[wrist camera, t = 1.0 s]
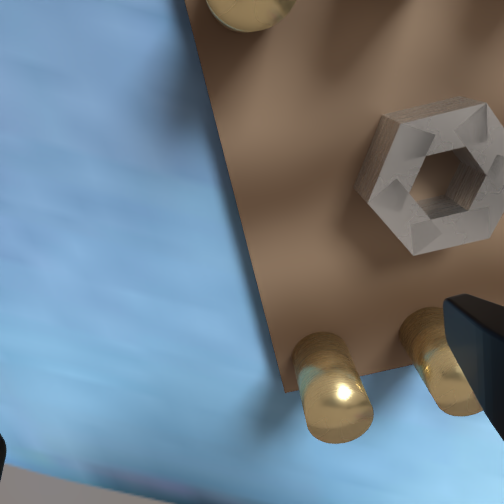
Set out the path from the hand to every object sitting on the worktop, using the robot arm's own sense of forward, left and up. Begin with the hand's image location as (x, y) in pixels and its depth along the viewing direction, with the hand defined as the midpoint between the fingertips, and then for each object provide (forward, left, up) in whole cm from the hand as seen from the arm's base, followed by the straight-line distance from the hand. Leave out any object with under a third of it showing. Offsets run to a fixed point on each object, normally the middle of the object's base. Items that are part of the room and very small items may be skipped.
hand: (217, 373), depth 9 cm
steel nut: (-1, -8, -11) cm, 13 cm away
